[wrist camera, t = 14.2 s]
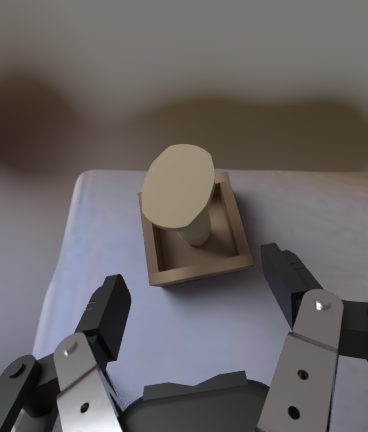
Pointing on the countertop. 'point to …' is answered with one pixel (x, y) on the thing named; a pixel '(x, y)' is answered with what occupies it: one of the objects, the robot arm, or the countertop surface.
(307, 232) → the countertop surface
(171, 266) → the open wooden box
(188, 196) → the handle
